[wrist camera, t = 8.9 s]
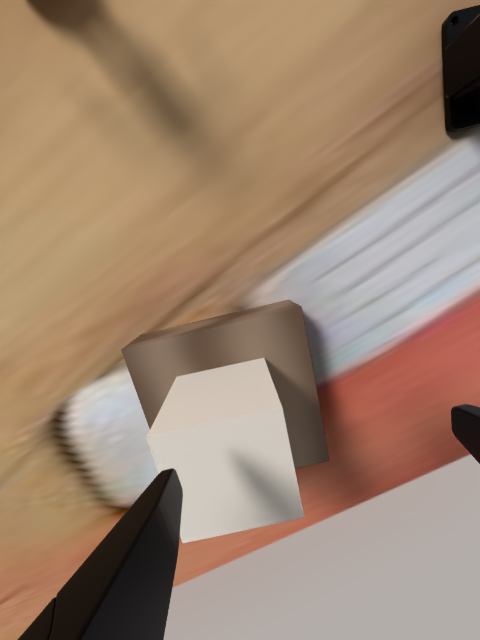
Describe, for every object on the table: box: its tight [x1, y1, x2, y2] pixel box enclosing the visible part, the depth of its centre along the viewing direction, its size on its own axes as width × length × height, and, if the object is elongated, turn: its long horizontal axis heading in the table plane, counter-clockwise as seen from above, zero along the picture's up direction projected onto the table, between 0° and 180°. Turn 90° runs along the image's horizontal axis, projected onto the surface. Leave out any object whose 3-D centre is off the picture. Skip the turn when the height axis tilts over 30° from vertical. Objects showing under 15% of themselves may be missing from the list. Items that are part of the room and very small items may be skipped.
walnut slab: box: [122, 300, 329, 469], centre depth 19 cm, size 12×12×4 cm
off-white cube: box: [146, 358, 304, 543], centre depth 14 cm, size 6×6×6 cm
